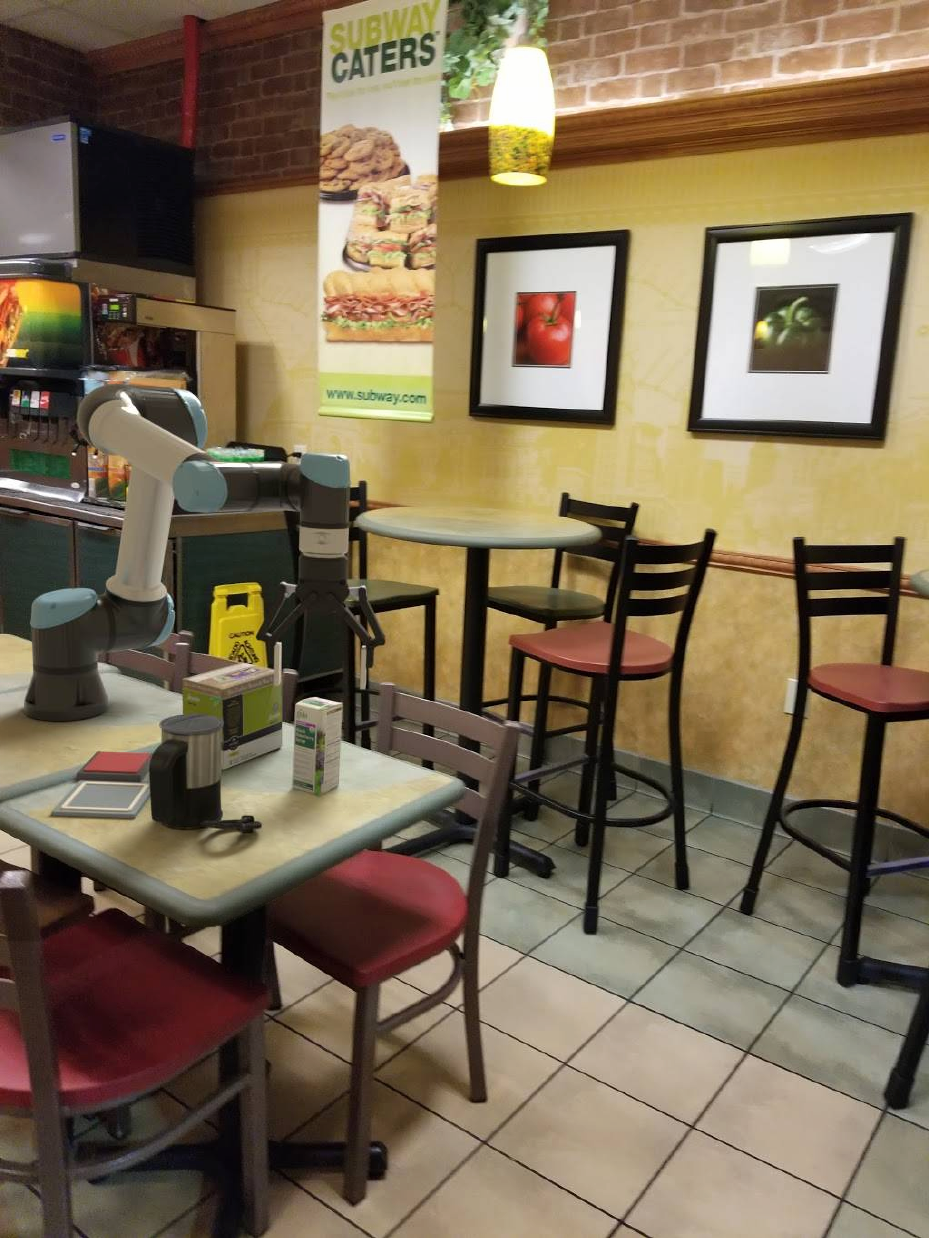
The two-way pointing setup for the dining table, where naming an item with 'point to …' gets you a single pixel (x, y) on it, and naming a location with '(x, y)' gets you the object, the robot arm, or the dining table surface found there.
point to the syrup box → (317, 745)
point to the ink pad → (116, 767)
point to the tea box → (239, 709)
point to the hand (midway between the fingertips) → (320, 685)
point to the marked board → (104, 799)
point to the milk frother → (191, 776)
